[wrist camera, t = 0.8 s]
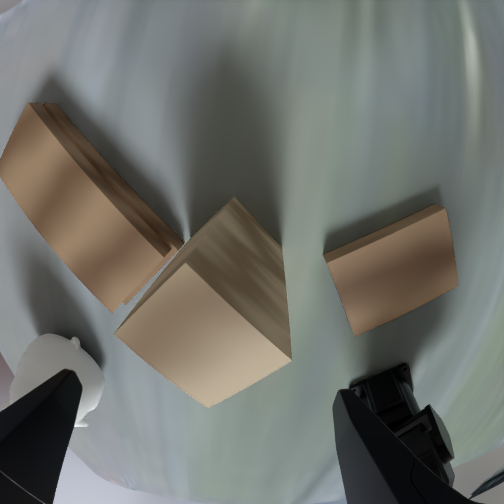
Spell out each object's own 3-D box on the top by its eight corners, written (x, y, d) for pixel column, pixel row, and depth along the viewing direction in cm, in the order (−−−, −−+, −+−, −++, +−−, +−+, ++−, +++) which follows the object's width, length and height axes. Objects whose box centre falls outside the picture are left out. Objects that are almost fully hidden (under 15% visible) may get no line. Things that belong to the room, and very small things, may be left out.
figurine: (49, 301, 25) (-22, 367, 13) (122, 352, 26) (68, 441, 14) (44, 355, 28) (-5, 415, 17) (106, 397, 29) (67, 470, 18)
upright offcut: (282, 247, 21) (292, 360, 10) (237, 284, 22) (207, 408, 11) (233, 196, 20) (185, 262, 9) (190, 238, 21) (113, 333, 10)
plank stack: (184, 243, 21) (171, 259, 18) (131, 297, 23) (116, 317, 20) (54, 101, 18) (30, 99, 15) (18, 165, 20) (-5, 170, 17)
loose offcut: (449, 277, 21) (458, 285, 19) (350, 325, 23) (354, 336, 21) (435, 203, 19) (445, 208, 17) (323, 254, 21) (326, 263, 19)
